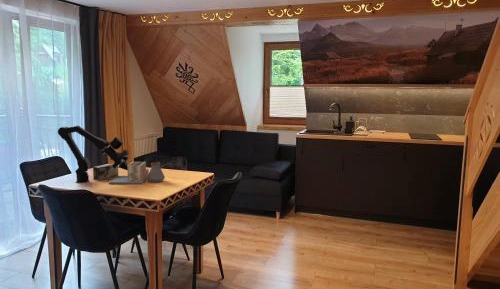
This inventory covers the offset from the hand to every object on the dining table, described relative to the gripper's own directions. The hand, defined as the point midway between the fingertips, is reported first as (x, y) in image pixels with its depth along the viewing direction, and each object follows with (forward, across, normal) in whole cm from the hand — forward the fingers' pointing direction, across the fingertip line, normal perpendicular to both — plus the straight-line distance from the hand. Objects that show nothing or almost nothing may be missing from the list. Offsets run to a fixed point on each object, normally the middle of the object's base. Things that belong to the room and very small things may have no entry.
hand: (130, 170), depth 254 cm
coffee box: (-9, +17, +13) cm, 23 cm away
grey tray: (+5, 0, +6) cm, 7 cm away
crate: (+8, 0, +1) cm, 8 cm away
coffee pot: (+21, -4, -10) cm, 23 cm away
